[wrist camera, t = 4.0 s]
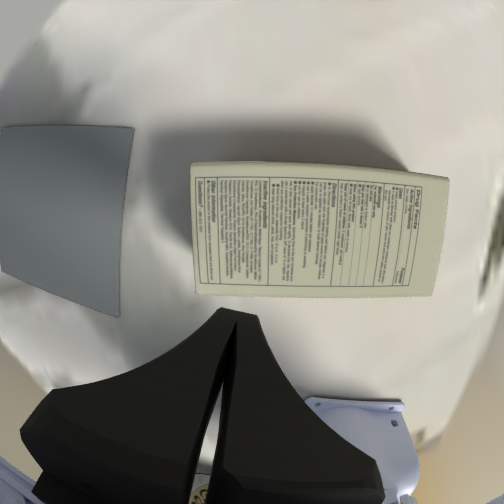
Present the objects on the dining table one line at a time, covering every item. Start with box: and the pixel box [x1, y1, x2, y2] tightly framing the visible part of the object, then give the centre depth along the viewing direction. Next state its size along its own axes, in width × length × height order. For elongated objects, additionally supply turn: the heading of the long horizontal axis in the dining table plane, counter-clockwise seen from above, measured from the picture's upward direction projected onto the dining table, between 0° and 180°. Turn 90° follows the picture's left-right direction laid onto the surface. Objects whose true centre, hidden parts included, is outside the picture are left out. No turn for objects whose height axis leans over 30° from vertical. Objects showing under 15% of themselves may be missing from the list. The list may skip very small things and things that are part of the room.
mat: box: [0, 125, 134, 318], centre depth 17 cm, size 14×13×1 cm
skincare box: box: [190, 161, 450, 298], centre depth 14 cm, size 6×4×12 cm
